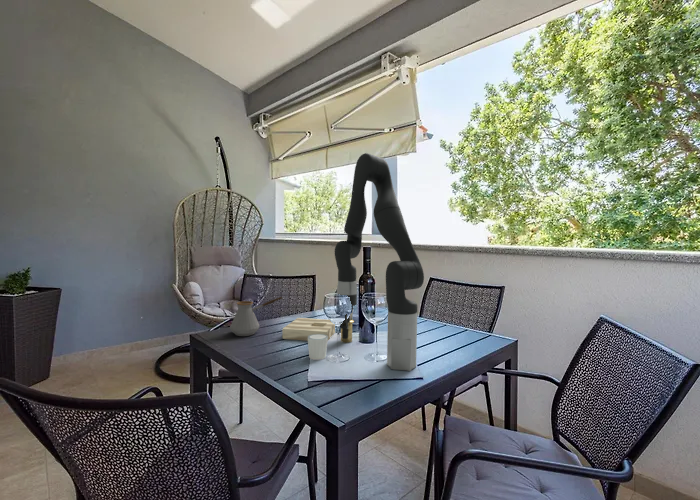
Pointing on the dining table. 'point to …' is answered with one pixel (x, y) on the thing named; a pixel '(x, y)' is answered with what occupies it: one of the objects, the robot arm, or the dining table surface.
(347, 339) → the bushing
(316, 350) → the shot glass
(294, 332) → the jig
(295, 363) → the dining table surface
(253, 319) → the coffee pot
